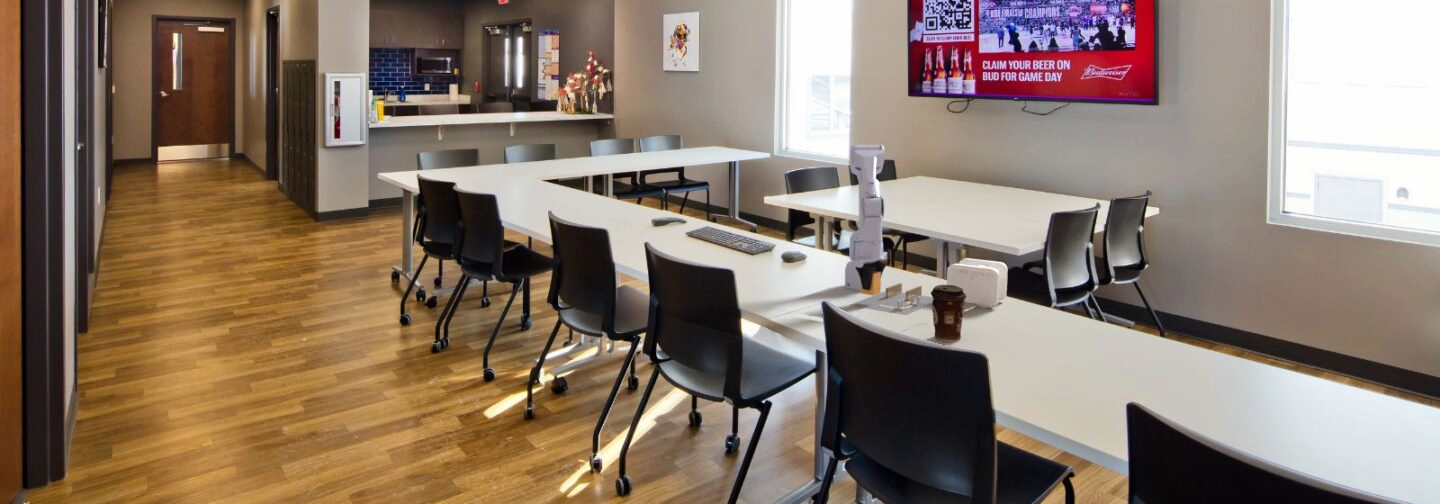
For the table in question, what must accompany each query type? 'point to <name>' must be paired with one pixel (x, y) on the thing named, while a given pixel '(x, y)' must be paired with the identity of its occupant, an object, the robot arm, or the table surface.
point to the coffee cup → (948, 312)
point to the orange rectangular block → (873, 284)
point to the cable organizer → (979, 281)
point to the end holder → (897, 290)
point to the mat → (894, 303)
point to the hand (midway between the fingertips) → (870, 288)
